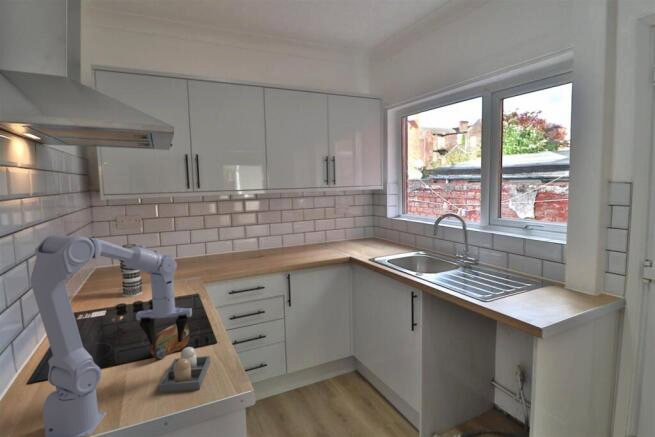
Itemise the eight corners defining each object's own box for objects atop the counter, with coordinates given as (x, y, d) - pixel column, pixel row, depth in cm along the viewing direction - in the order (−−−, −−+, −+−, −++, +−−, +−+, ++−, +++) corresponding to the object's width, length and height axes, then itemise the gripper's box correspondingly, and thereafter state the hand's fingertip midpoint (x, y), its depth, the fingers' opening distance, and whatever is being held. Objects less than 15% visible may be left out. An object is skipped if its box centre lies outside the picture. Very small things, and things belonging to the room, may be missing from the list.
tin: (156, 364, 108) (154, 337, 107) (149, 362, 109) (147, 336, 108) (192, 342, 122) (190, 319, 121) (185, 341, 123) (183, 318, 122)
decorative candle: (117, 297, 172) (113, 246, 169) (130, 291, 181) (126, 243, 178) (135, 297, 171) (130, 246, 168) (147, 291, 180) (143, 243, 177)
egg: (180, 374, 101) (178, 351, 100) (184, 367, 105) (182, 344, 104) (195, 373, 101) (193, 350, 100) (198, 365, 105) (197, 343, 105)
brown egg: (173, 388, 94) (171, 363, 93) (177, 379, 98) (175, 356, 98) (189, 386, 95) (187, 362, 94) (193, 378, 99) (191, 354, 98)
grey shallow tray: (159, 394, 92) (158, 385, 92) (175, 367, 106) (174, 358, 106) (199, 390, 94) (199, 381, 93) (210, 364, 107) (209, 355, 107)
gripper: (193, 290, 105) (196, 333, 107) (141, 293, 104) (145, 337, 105) (186, 298, 98) (190, 344, 100) (131, 301, 97) (135, 348, 98)
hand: (166, 341), depth 102 cm, fingers open, 7 cm apart
